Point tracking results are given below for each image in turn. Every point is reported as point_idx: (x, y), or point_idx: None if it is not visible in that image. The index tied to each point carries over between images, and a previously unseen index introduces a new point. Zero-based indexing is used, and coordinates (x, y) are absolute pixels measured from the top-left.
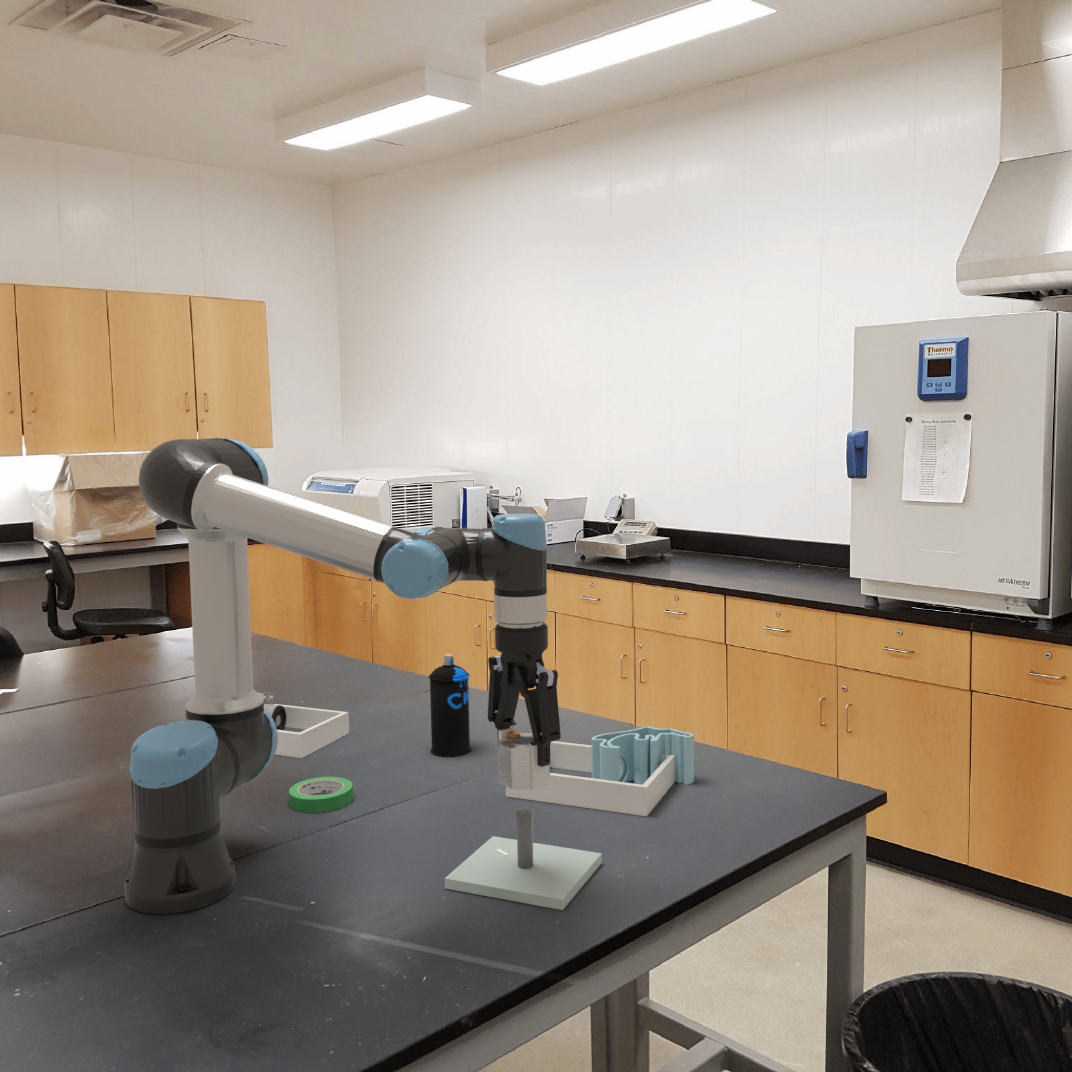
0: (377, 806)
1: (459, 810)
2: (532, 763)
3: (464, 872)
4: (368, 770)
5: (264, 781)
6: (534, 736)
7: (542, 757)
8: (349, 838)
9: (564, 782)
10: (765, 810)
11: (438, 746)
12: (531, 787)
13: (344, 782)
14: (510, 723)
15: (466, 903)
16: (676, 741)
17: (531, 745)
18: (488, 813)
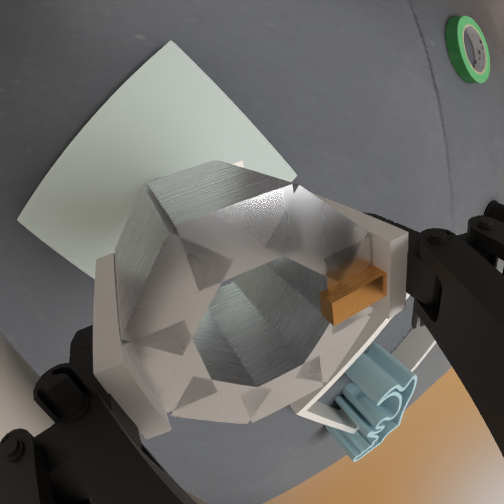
0: (440, 87)
1: (402, 171)
2: (101, 304)
3: (178, 78)
4: (493, 127)
5: (494, 36)
6: (95, 418)
7: (70, 362)
8: (382, 10)
9: (374, 322)
10: (238, 471)
11: (497, 207)
12: (109, 254)
13: (479, 75)
14: (419, 305)
15: (98, 64)
16: (361, 444)
17: (110, 359)
18: (380, 204)
